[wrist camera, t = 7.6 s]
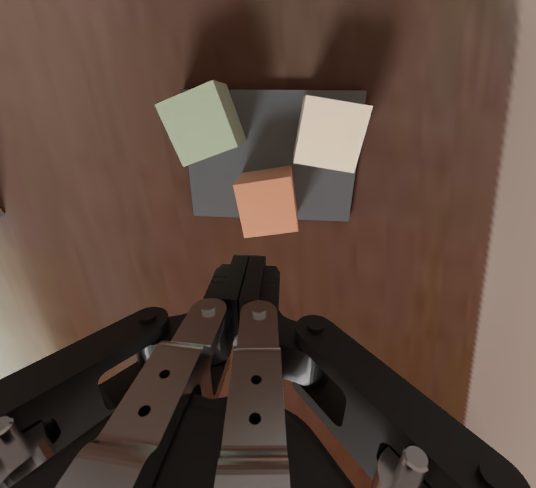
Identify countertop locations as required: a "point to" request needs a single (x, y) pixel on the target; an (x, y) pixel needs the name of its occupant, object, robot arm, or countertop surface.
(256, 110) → the mat
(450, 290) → the countertop surface
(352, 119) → the cream cube
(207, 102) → the sage cube
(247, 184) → the terracotta cube
